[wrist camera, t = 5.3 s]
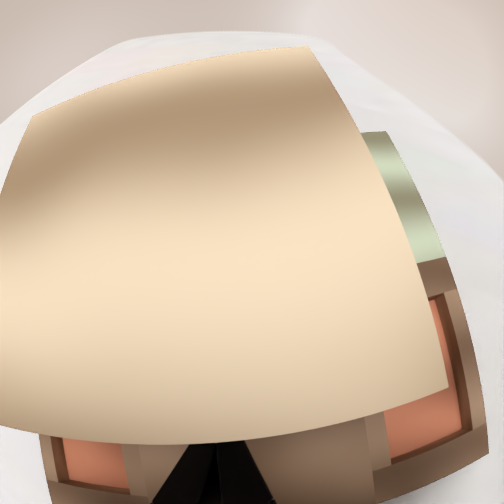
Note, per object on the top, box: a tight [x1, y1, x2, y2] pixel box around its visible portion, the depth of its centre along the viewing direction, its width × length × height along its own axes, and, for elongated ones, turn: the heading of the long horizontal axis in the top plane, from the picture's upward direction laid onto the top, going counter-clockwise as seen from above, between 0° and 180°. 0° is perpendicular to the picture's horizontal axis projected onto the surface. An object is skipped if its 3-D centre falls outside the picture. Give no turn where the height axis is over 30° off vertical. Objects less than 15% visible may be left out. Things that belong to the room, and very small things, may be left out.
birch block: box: [0, 46, 449, 445], centre depth 10 cm, size 8×8×11 cm
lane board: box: [39, 131, 489, 504], centre depth 16 cm, size 22×25×2 cm
